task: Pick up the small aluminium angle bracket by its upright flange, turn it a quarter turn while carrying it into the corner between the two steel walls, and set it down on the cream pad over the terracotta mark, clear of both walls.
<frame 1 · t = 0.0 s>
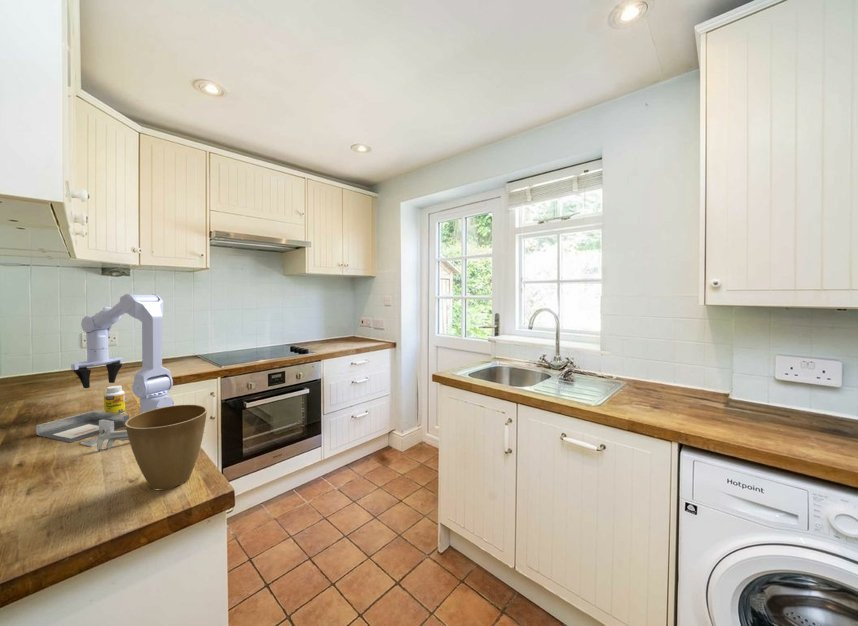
hand: (99, 385, 125), 10 cm above the countertop, tool pointing down, fingers open, 7 cm apart
bracket: (97, 441, 100), on the countertop
arena: (80, 431, 107), on the countertop
caliper: (144, 441, 102), on the countertop
plant pot: (170, 482, 79), on the countertop
supplement bottle: (115, 415, 123), on the countertop
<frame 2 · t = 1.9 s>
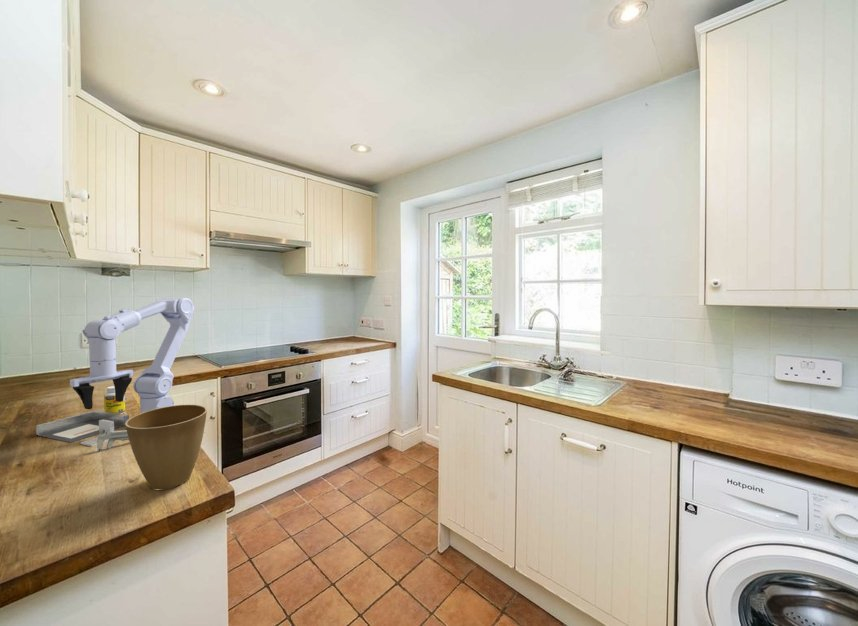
hand: (104, 404, 102), 10 cm above the countertop, tool pointing down, fingers open, 7 cm apart
nothing on the countertop moved.
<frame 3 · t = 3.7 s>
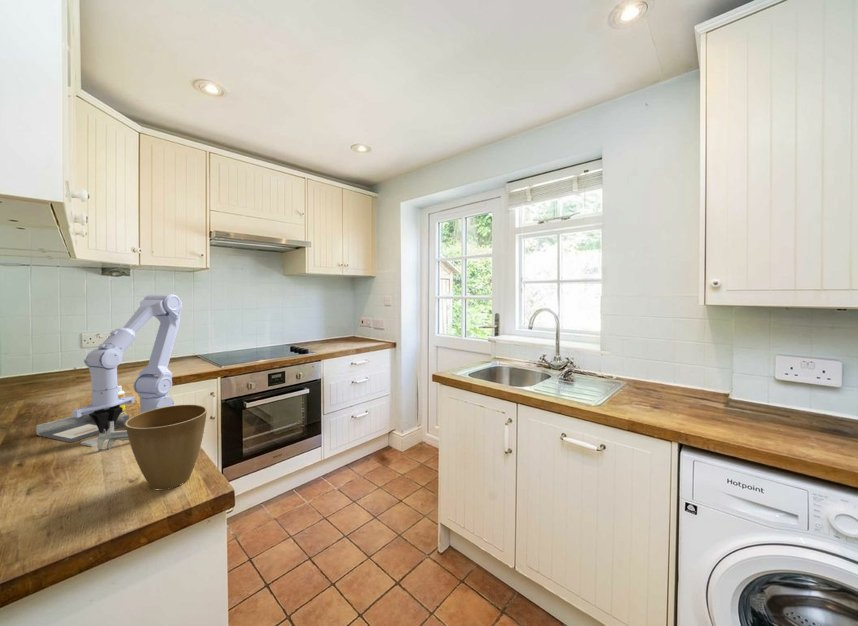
hand: (106, 432, 102), 2 cm above the countertop, tool pointing down, fingers closed on bracket
bracket: (97, 441, 100), on the countertop, touching gripper
everything else where it was.
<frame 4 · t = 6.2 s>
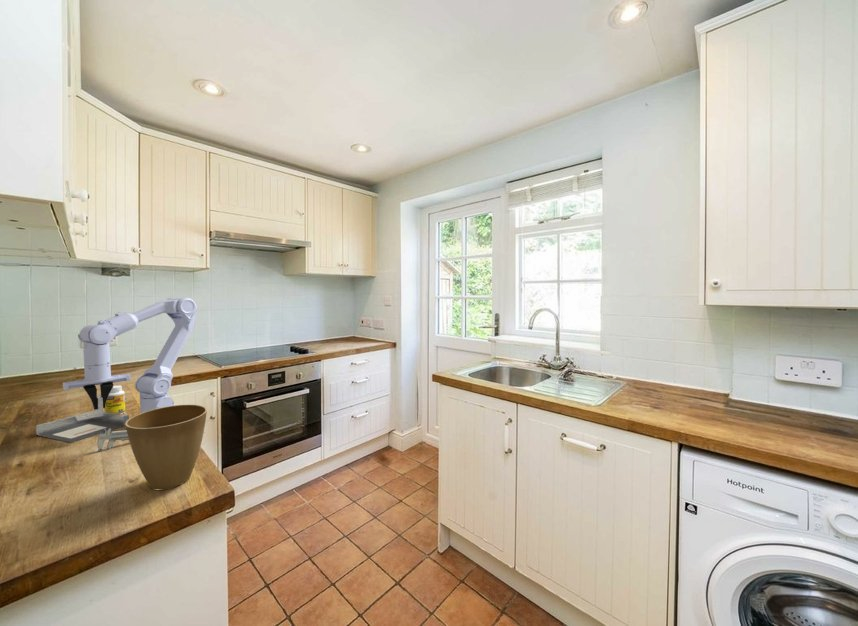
hand: (99, 408, 103), 9 cm above the countertop, tool pointing down, fingers closed on bracket
bracket: (89, 416, 102), point 7 cm above the countertop, touching gripper
everything else where it was.
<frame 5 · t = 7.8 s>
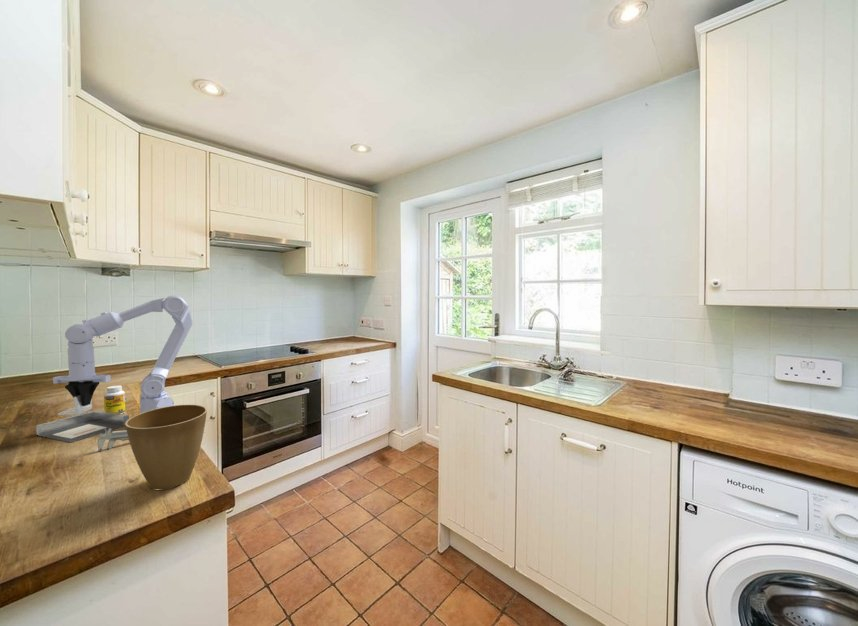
hand: (83, 405, 106), 9 cm above the countertop, tool pointing down, fingers closed on bracket
bracket: (75, 411, 106), point 7 cm above the countertop, touching gripper
everything else where it was.
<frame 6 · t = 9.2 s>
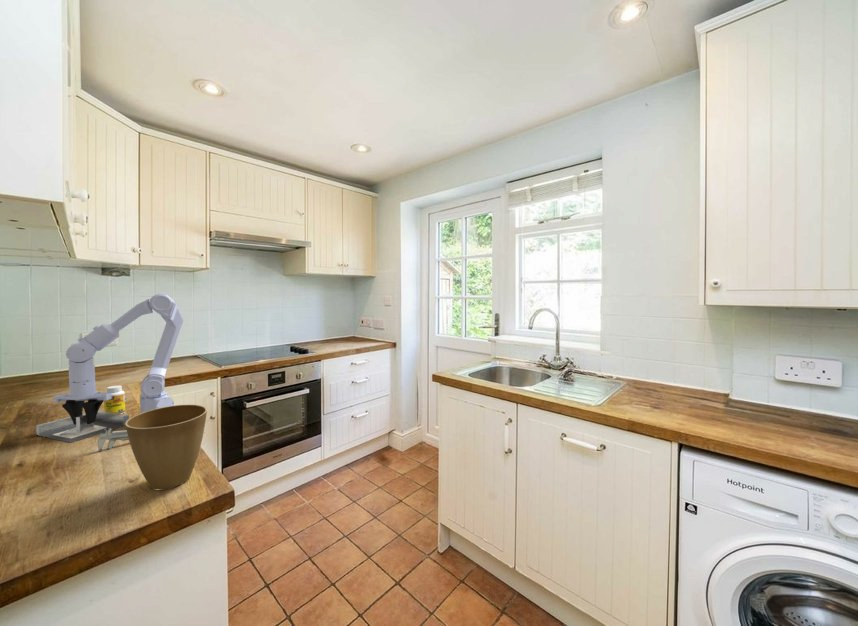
hand: (84, 423, 107), 3 cm above the countertop, tool pointing down, fingers open, 3 cm apart
bracket: (77, 432, 106), resting on arena
everything else where it was.
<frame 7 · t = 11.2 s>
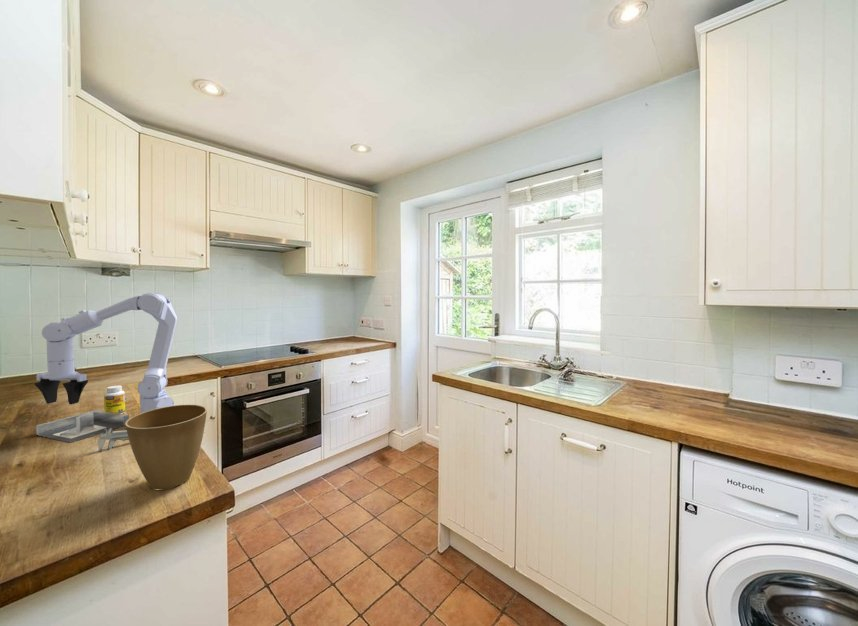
hand: (62, 403, 107), 9 cm above the countertop, tool pointing down, fingers open, 7 cm apart
nothing on the countertop moved.
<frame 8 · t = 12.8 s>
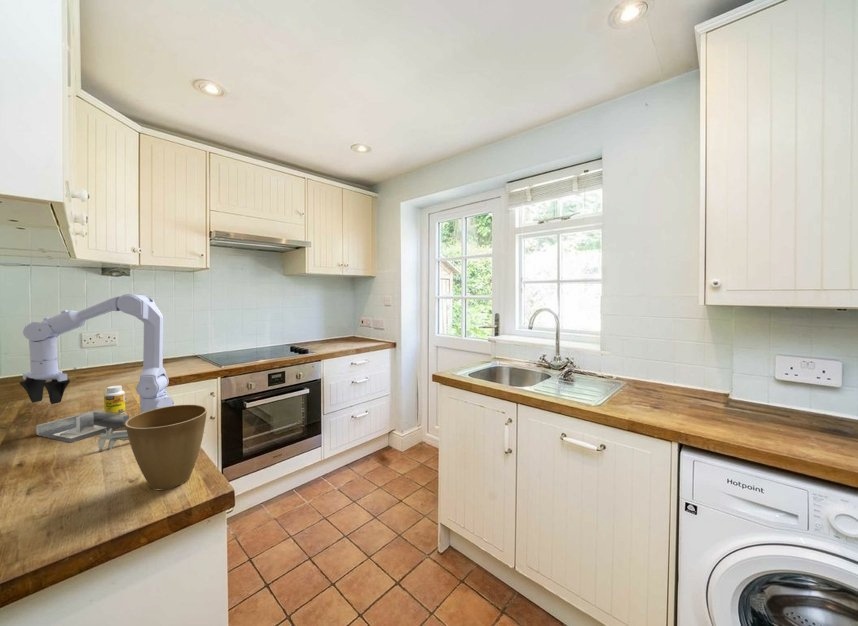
hand: (46, 402, 107), 9 cm above the countertop, tool pointing down, fingers open, 7 cm apart
nothing on the countertop moved.
at the end: bracket 1.0 cm off-centre on the arena, point 0.3 cm above the arena's base; bracket tilted 0°; the gripper is holding nothing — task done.
